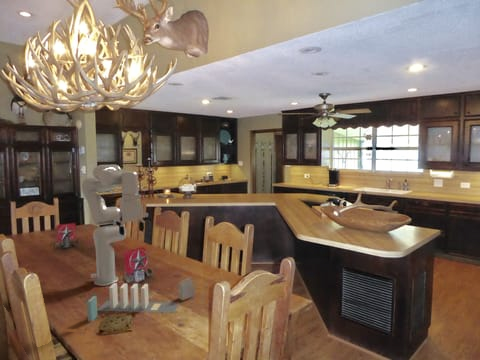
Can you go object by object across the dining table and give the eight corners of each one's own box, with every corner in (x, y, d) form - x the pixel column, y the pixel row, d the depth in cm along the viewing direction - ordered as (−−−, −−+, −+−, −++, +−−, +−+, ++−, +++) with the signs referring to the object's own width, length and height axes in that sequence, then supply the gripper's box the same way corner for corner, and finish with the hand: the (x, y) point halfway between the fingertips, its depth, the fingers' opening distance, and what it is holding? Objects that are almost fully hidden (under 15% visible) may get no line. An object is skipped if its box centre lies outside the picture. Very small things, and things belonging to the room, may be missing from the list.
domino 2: (110, 308, 154) (109, 287, 153) (114, 303, 159) (113, 283, 158) (113, 308, 153) (112, 287, 152) (118, 303, 158) (117, 283, 157)
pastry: (87, 329, 139) (87, 322, 138) (122, 312, 153) (122, 305, 153) (113, 342, 129) (113, 334, 129) (148, 322, 144) (148, 316, 143)
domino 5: (141, 309, 153) (141, 288, 152) (145, 304, 158) (144, 283, 157) (145, 309, 152) (144, 288, 152) (148, 304, 157) (148, 283, 157)
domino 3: (120, 308, 153) (119, 287, 152) (124, 303, 158) (124, 283, 157) (123, 308, 153) (123, 287, 152) (128, 303, 158) (127, 283, 157)
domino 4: (131, 308, 153) (130, 288, 152) (135, 303, 158) (134, 283, 157) (134, 309, 153) (133, 288, 152) (138, 303, 158) (137, 283, 157)
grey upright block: (194, 298, 166) (193, 278, 165) (182, 302, 161) (182, 282, 160) (190, 295, 169) (189, 276, 168) (178, 299, 164) (178, 280, 163)
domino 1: (88, 323, 142) (87, 301, 141) (94, 317, 147) (93, 296, 146) (92, 324, 142) (90, 301, 141) (97, 318, 147) (96, 296, 146)
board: (96, 312, 151) (96, 310, 151) (106, 302, 161) (106, 300, 161) (174, 314, 149) (174, 312, 149) (179, 304, 159) (179, 302, 159)
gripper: (143, 195, 167) (145, 228, 168) (109, 198, 155) (111, 234, 156) (150, 196, 161) (152, 231, 163) (115, 200, 149) (117, 237, 151)
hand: (132, 232), depth 159 cm, fingers open, 9 cm apart
